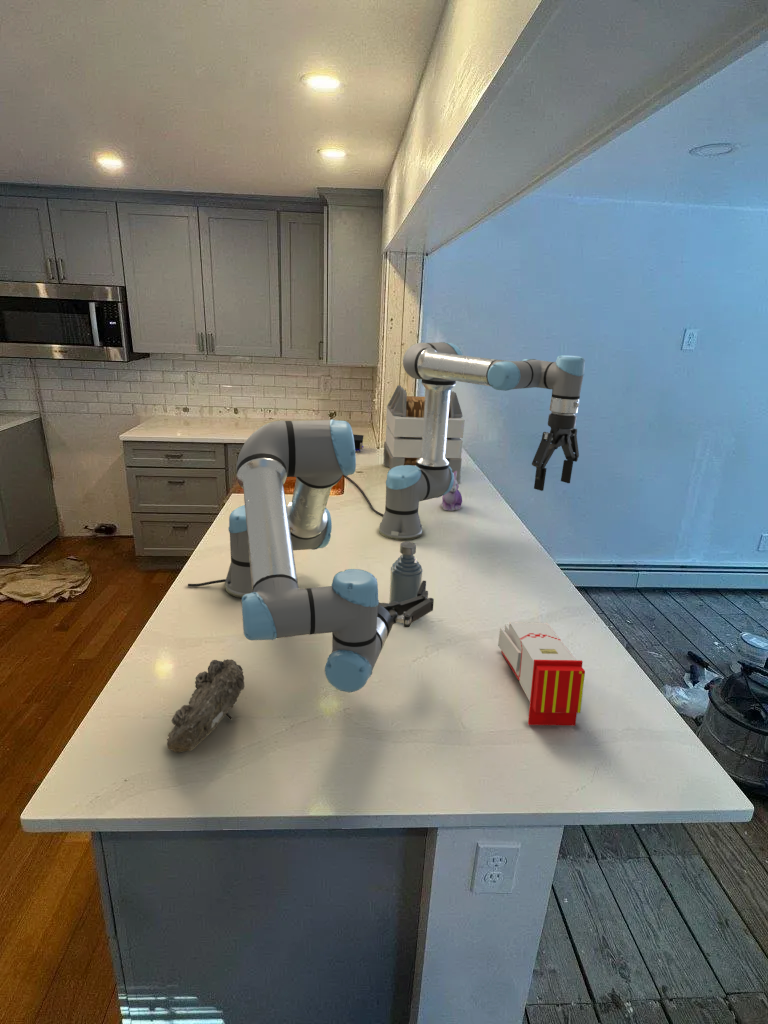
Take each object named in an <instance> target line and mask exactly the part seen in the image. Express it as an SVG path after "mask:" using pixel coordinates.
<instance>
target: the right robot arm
mask: <svg viewBox="0 0 768 1024" xmlns="http://www.w3.org/2000/svg"><path fill="white" fill-rule="evenodd" d="M585 365H586V360H585V358H584V357H582V356H578V355H566V354H565V355H564V354H563V355H558V356H557V357H556V360H555V361H549V360H541V359H536V358H524V359H521V360H506V359H505V360H504V359H503V360H502V359H496V358H487V357H479V356H471V355H464V354H463V352H462V350H461V349H460V347H459V346H457V345H456V344H455V343H451V342H445V341H443V342H442V341H441V342H440V341H439V342H438V341H437V342H417V343H414V344H412V345H411V346H409V347H408V348H407V350H406V351H405V353H404V355H403V358H402V366H403V369H404V372H405V373H406V374H407V375H408V376H409V377H411V378H412V379H415V380H421V385H422V386H423V387H424V389H425V392H424V397H425V404H424V419H423V434H422V449H421V457H420V458H418V459H417V461H416V466H413V465H401V466H396V467H394V468H392V469H390V468H389V470H388V472H387V474H386V479H385V504H384V505H385V507H384V508H385V509H384V513H381V512H379V511H378V510H376V509H375V508H374V507H373V505H372V503H371V501H370V500H369V498H368V496H367V495H366V494H365V492H364V491H363V489H362V488H361V487H360V486H359V485H358V484H357V483H356V482H355V481H354V480H352V479H351V478H350V477H349V476H345V475H342V477H344V478H346V479H347V480H348V481H350V482H351V483H352V484H353V485H354V486H355V487H356V488H357V489H358V490H359V491H360V493H361V494H362V496H363V497H364V498H365V500H366V502H367V503H368V505H369V508H371V510H372V511H373V512H374V513H376V514H377V515H380V516H381V517H382V519H381V522H379V526H378V533H379V534H380V535H381V536H382V537H385V538H387V539H389V540H395V541H410V540H415V539H418V538H420V537H421V536H422V535H423V525H422V524H421V518H420V515H419V507H420V506H419V505H420V502H423V501H427V500H431V499H437V498H440V497H441V498H442V497H443V495H445V494H447V493H448V492H449V491H450V490H451V489H452V487H453V484H454V473H452V469H451V467H450V466H449V462H448V461H447V459H446V458H445V453H446V441H447V428H448V416H449V404H450V392H451V391H452V389H453V388H454V387H455V386H456V384H457V382H461V383H465V384H473V385H479V386H487V387H491V388H492V389H494V390H496V391H503V392H504V391H511V390H520V389H532V388H533V389H534V388H539V389H546V390H551V398H550V404H549V413H548V418H547V419H548V420H547V426H548V427H549V428H550V431H549V432H548V431H543V432H542V435H541V440H540V442H539V445H538V447H537V449H536V452H535V454H534V457H533V460H532V461H531V466H533V467H535V475H534V477H535V478H534V485H533V489H534V490H537V491H539V492H543V491H544V489H545V484H546V483H545V482H546V476H547V468H546V466H547V465H548V463H549V461H550V459H551V457H552V456H553V454H554V453H555V451H556V450H557V449H558V448H560V447H561V449H562V452H563V455H564V458H565V459H563V463H562V468H561V469H562V470H561V475H560V482H562V483H566V484H571V478H572V472H573V466H574V463H576V462H578V461H579V457H580V453H579V444H578V428H576V423H577V419H578V416H577V414H578V412H579V411H578V410H579V406H580V397H581V391H582V385H583V380H584V376H585Z"/></svg>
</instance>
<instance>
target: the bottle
mask: <svg viewBox="0 0 768 1024" xmlns="http://www.w3.org/2000/svg"><path fill="white" fill-rule="evenodd" d="M423 572H424V570H423V568H422V565H421V563H420V562H419V561H418V559H417V558H416V557H415V556H414V554H413V555H404V554H402V553H401V555H400V556H399V557H398V558H397V559H396V560H395V561H394V562H393V563H392V565H391V567H390V578H389V579H390V580H389V597H388V599H389V600H388V604H389V603H392V602H395V601H396V602H398V603H399V602H402V601H405V600H408V599H411V598H415V597H417V593H418V591H419V588H420V586H421V584H422V581H423ZM393 609H394V608H393Z"/></svg>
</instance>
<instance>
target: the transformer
mask: <svg viewBox="0 0 768 1024" xmlns="http://www.w3.org/2000/svg"><path fill="white" fill-rule="evenodd" d="M407 394H408V393H407V390H406V389H404V388H403V387H402V385H399V384H398V385H397V386H396V388H395V390H394V392H393V394H392V395H391V398H390V400H389V402H388V404H387V405H386V413H385V414H386V415H385V423H386V428H385V438H384V442H383V466H384V467H388V468H389V470H390V469H392V468H394V467H396V466H401V465H404V466H405V465H413V466H416V461H417V459H418V458H420V457H421V449H422V434H423V419H424V404H425V396H415V395H414V396H413V395H412V396H411V395H407ZM464 429H465V419H464V418H463V411H462V408H461V405H460V402H459V398H458V395H457V392H455V391H453V390H451V392H450V404H449V416H448V428H447V441H446V453H445V458H446V459H447V461H448V462H449V466H450V467H451V469H452V473H454V472H455V471H457V477H456V480H457V482H458V484H459V483H461V472H462V461H463V460H462V453H463V442H464V441H463V440H462V439H463V438H464V431H465V430H464Z"/></svg>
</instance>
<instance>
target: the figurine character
mask: <svg viewBox="0 0 768 1024" xmlns="http://www.w3.org/2000/svg"><path fill="white" fill-rule="evenodd" d="M353 437H354V444H355V452H358V453H361V450H363V448H364V445H363V443H364V437H365V435H364V434H355V433H353Z"/></svg>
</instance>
